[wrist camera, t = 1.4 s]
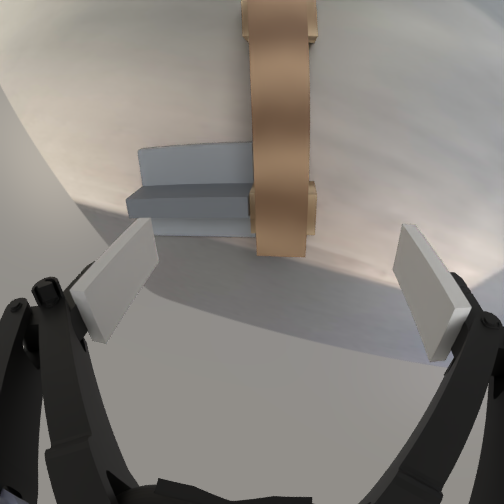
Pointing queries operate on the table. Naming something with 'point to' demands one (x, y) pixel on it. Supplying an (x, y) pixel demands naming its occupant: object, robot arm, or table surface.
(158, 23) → the table surface
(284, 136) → the walnut bar
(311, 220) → the block
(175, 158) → the fulcrum
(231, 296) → the table surface
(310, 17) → the block
